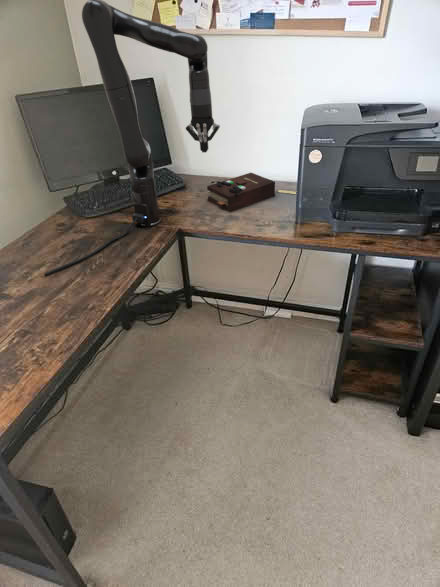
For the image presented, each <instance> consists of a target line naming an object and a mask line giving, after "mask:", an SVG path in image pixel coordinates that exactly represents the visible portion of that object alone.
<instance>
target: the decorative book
mask: <svg viewBox="0 0 440 587" xmlns="http://www.w3.org/2000/svg"><path fill="white" fill-rule="evenodd" d="M210 183H211V184H210V185H207V186H206V190H207V191H209V192H207V194H209V196H208V197H207V201H208V202H210V203H212V204H214V205H216V206H218V207H219V208H222V209H224V210H225V211H227V212H229V213H231V212H234V211H237V210H241V209H243V208H246V207H248V206H251V205H254V204H257V203H259V202H263V201H265V200H269V199H271V198H274V197H276V181H274V180H272V179H269V178H267V177H263V176H262V175H259V174H256V173H253V172H248V173H245V174H241V175H238V176H235V177H232V178H229V179H226V180H225V179H224V180H222V181H220V180H219V181H218V180H217V181H211V182H210Z"/></svg>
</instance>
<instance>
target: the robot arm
mask: <svg viewBox="0 0 440 587" xmlns="http://www.w3.org/2000/svg"><path fill="white" fill-rule="evenodd" d="M81 20H82V24H83V26H84V29H85V31H86V33H87V36H88V39H89V41H90V44H91V46H92V48H93V51H94V54H95V57H96V61H97V65H98V70H99V74H100V77H101V80H102V81H101V82H102V85H103V88H104V91H105V95H106V98H107V102H108V104H109V106H110V110H111V112H112V116H113V118H114V121H115V124H116V127H117V129H118V132H119V136H120V141H121V145H122V151H123V156H124V159H125V161H126V163H128V170H129V181H130V186H131V192H132V197H133V201H134V202H133V210H134V213H133V214H131V219H132V222H130V224H129V225H128V226H127V227H126V230H125V231H124V232H123V233H122V234H120V235H117V236H115V237H113V238H111V239H109V240H108V241H106V242H105V243H104V244H102V245H101V246H100V247H98V248H97V249H95V250H93V251H92V252H90V253H88V254H86V255H83V256H82V257H80V258H78V259H75V260H73V261H71V262H68V263H66V264H63V265H60V266H58V267H56V268H54V269H51V270H49V271H46V272H43V273H44V274H43V275H44V276H45V277H46V276H49V275H51V274H53V273H56V272H58V271H60V270H62V269H65V268H67V267H70V266H73V265H75V264H78V263H79V262H82V261H84V260H86V259H88V258H90V257H92V256H93V255H96V254H97V253H98V252H99V251H102V250H104V248H106V247H107V246H108V245H109V244H111V243H113V242H114V241H117V240H119V239H121V238H123V237H124V236H126V235H127V234H128V233H129V231H130V229H131V228H132V226H134V224H135V223H136V225H137V226H140V227H146V228H151V227H153V226H156V225H158V224H160V223H161V222H162V221H161V219H162V218H161V215H160V214H161V213H160V206H159V201H158V195H157V194H158V193H157V188H156V181H155V174H154V164H153V156H152V150H151V146H150V144H149V142H148V141H147V140H146V139H144V138H143V135H142V132H141V127H140V123H139V115H138V107H137V106H138V105H137V100H136V95H135V92H134V87H133V84H132V81H131V78H130V75H129V72H128V70H127V68H126V66H125V64H124V61H123V59H122V57H121V55H120V53H119V49H118V46H117V42H116V37H115V35H116V36H122V37H125V38H129V39H132V40H135V41H137V42H140V43H142V44H145V45H146V46H149V47H152V48H154V49H158V50H161V51H164V52H167V53H168V52H169V53H173V54H176V55H179V56H181V57H183V58H186V59H187V64H188V85H189V105H190V116H191V117H190V118H191V120H190V123H189V124H188V125H186V126H185V130H186V131H187V133H188V134H189V135H190V136H191V138H192V139H193V140H194V141H196V142H199V149H200V151H201V153H207V152H208V151H209V142H210V141H212V140H213V138H214V136H215V135H216V134H217V132H218V131H219V129H220V128H221V125H220V124H217V123H216V122H215V119H214V118H213V105H212V104H213V103H212V92H211V84H210V83H211V82H210V81H211V80H210V73H209V67H208V65H209V64H208V50H209V48H208V42H207V40H206V38H204V37H203V35H200V34H193V33H189V32H186V31H182V30H179V29H178V28H176V27H173V26H170V25H168V24H164V23H162V22H157V21H154V20H149V19H146V18H142V17H138V16H134V15H132V14H129V13H126V12H124V11H123V10H120V9H119V8H116V7H114V6H112V5H110V4H109V3H107V2H106V1H104V0H87V1H86V2H85V3H84V4H83V6H82V10H81ZM211 129H212V132H211V133H210V135H209V132H210V130H211Z"/></svg>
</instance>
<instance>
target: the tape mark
mask: <svg viewBox="0 0 440 587" xmlns="http://www.w3.org/2000/svg"><path fill="white" fill-rule="evenodd" d="M296 192H297V191H293V190H283V189H279V190H277V193H280V194H290V195H297V194H296Z"/></svg>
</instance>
